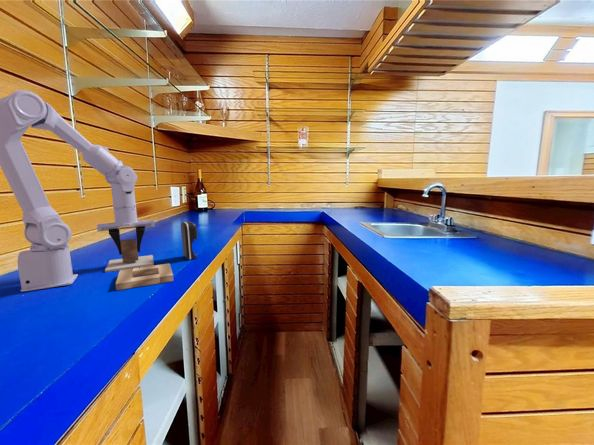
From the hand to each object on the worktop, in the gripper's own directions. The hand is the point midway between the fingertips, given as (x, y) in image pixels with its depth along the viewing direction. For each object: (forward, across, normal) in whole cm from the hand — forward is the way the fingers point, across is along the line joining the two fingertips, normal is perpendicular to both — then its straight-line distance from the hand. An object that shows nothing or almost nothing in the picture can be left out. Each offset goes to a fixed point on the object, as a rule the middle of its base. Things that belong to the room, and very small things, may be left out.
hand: (129, 252), depth 88 cm
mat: (+3, 0, 0) cm, 3 cm away
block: (+2, 0, 0) cm, 2 cm away
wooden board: (+3, +3, -18) cm, 19 cm away
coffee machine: (+4, +17, -3) cm, 17 cm away
